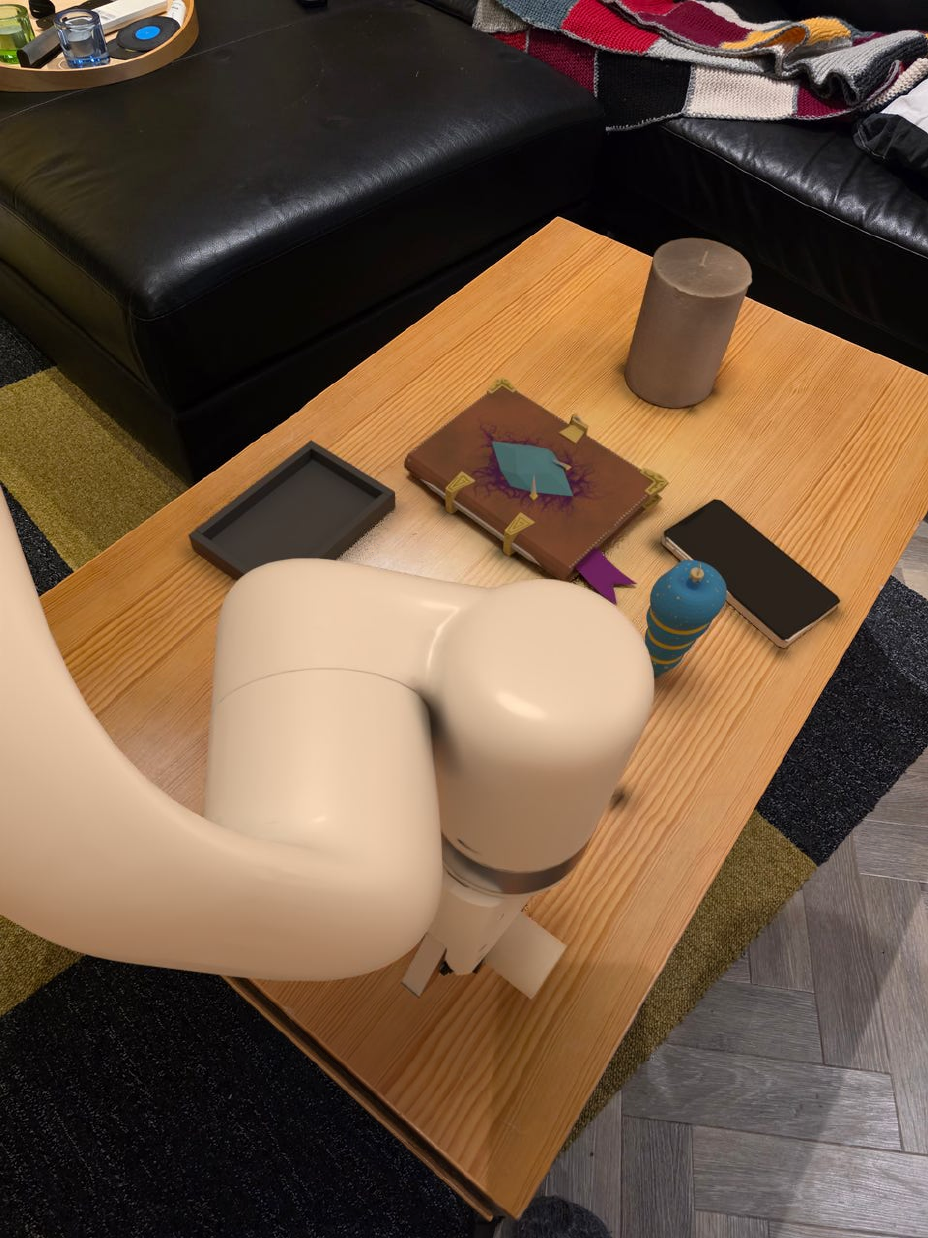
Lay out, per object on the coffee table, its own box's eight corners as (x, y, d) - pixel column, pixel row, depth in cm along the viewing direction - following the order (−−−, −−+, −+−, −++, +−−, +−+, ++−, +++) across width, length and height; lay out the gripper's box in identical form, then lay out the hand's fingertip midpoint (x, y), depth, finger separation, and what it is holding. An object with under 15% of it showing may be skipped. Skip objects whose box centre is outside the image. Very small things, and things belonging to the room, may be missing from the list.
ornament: (686, 658, 74) (740, 544, 62) (681, 709, 71) (737, 600, 59) (626, 645, 75) (667, 529, 63) (619, 696, 72) (660, 585, 60)
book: (599, 627, 77) (607, 595, 73) (399, 481, 86) (396, 445, 82) (705, 521, 83) (718, 486, 79) (509, 396, 92) (512, 358, 88)
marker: (567, 947, 53) (567, 945, 50) (532, 999, 52) (529, 1000, 49) (437, 847, 56) (429, 839, 53) (402, 894, 55) (392, 889, 52)
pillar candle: (635, 342, 99) (666, 215, 87) (720, 364, 97) (764, 238, 85) (614, 395, 93) (644, 268, 81) (704, 419, 92) (749, 293, 80)
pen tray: (278, 610, 75) (275, 596, 74) (192, 549, 79) (187, 534, 77) (395, 507, 83) (395, 491, 81) (313, 455, 86) (310, 439, 84)
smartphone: (785, 644, 74) (659, 533, 81) (780, 652, 75) (656, 542, 82) (843, 599, 78) (718, 495, 84) (838, 606, 79) (714, 504, 85)
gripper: (547, 637, 44) (508, 790, 59) (317, 897, 36) (341, 998, 51) (677, 721, 41) (603, 859, 56) (464, 1020, 33) (443, 1088, 48)
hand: (479, 924), depth 53 cm, fingers closed on marker, 3 cm apart
